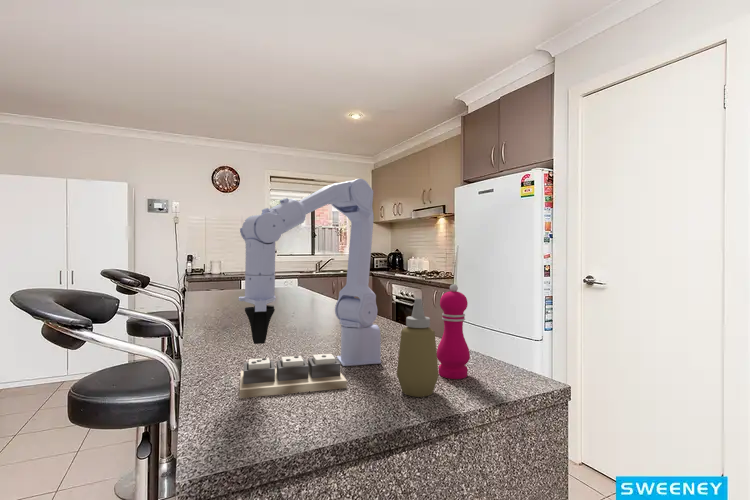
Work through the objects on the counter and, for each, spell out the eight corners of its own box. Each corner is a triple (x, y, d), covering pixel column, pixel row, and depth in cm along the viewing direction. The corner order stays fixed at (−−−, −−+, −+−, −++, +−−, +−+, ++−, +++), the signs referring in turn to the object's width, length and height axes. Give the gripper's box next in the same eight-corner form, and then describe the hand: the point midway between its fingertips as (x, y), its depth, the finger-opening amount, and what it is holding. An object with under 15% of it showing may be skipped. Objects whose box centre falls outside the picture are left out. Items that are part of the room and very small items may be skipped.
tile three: (269, 367, 81) (269, 357, 81) (269, 373, 77) (270, 362, 77) (248, 369, 80) (248, 358, 80) (248, 375, 76) (248, 363, 76)
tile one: (331, 362, 85) (331, 352, 85) (335, 368, 81) (335, 357, 81) (312, 364, 84) (312, 354, 84) (315, 369, 80) (315, 359, 80)
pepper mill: (433, 370, 90) (433, 282, 91) (463, 369, 91) (464, 283, 91) (440, 380, 83) (441, 285, 83) (474, 379, 84) (475, 285, 84)
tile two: (300, 365, 83) (301, 355, 83) (303, 370, 79) (303, 359, 79) (281, 366, 82) (281, 356, 82) (282, 372, 78) (283, 361, 78)
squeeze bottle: (410, 403, 70) (412, 302, 71) (388, 389, 78) (389, 297, 78) (447, 395, 74) (448, 300, 74) (422, 383, 81) (423, 295, 81)
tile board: (334, 370, 89) (334, 352, 89) (346, 388, 78) (346, 367, 78) (241, 378, 83) (241, 359, 83) (239, 398, 72) (239, 376, 72)
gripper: (240, 272, 85) (238, 336, 84) (237, 277, 71) (236, 353, 71) (274, 272, 87) (273, 334, 87) (278, 276, 73) (277, 350, 73)
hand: (259, 343), depth 79 cm, fingers closed
